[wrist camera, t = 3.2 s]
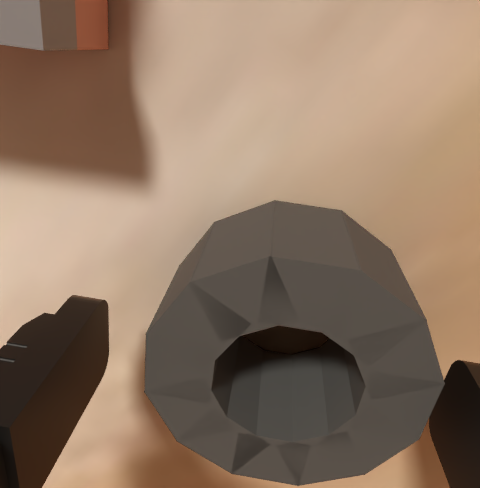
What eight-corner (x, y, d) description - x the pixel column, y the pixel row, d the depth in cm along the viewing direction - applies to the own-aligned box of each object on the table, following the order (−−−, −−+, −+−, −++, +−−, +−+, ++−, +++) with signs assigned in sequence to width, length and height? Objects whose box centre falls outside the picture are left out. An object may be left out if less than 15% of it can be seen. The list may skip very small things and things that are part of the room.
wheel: (434, 224, 10) (488, 289, 7) (368, 406, 13) (389, 502, 10) (184, 186, 10) (148, 236, 8) (172, 373, 13) (142, 457, 10)
